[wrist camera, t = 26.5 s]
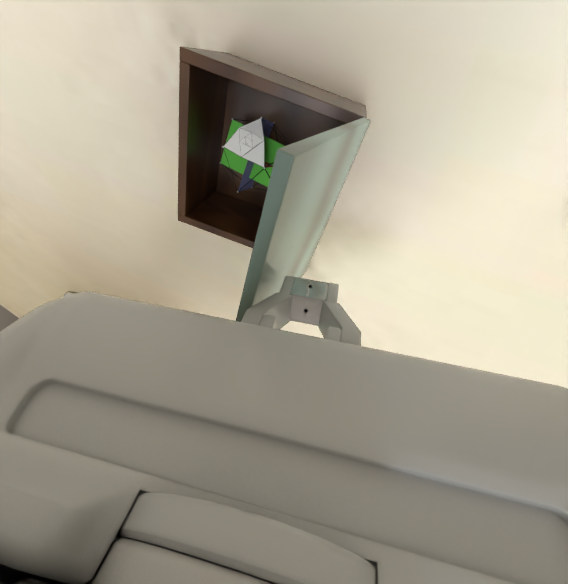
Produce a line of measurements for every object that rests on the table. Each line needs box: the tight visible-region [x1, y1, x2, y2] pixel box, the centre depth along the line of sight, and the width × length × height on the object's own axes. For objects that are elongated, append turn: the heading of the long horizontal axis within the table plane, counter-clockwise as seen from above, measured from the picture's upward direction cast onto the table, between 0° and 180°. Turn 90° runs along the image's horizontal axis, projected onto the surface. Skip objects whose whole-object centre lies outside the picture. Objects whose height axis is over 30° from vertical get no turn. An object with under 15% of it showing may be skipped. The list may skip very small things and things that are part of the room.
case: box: [178, 47, 367, 248], centre depth 27 cm, size 14×14×9 cm
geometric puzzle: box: [220, 117, 288, 192], centre depth 27 cm, size 7×7×8 cm
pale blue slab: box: [236, 117, 371, 322], centre depth 18 cm, size 15×14×1 cm
